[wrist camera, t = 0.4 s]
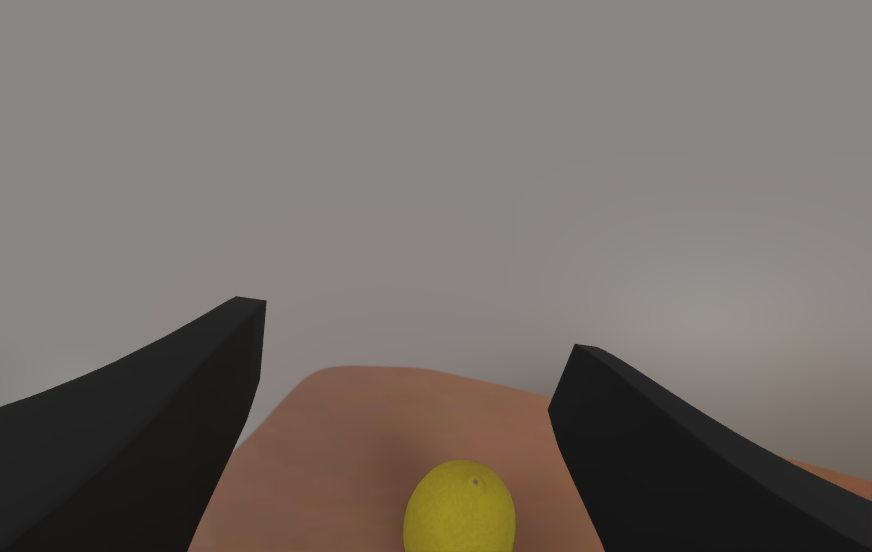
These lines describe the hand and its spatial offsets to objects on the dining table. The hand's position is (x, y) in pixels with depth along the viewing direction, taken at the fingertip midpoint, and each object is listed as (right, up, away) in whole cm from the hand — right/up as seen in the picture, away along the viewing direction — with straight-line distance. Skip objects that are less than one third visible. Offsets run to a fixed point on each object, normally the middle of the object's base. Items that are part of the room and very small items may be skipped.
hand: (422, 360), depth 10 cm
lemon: (+1, -14, +14) cm, 20 cm away
